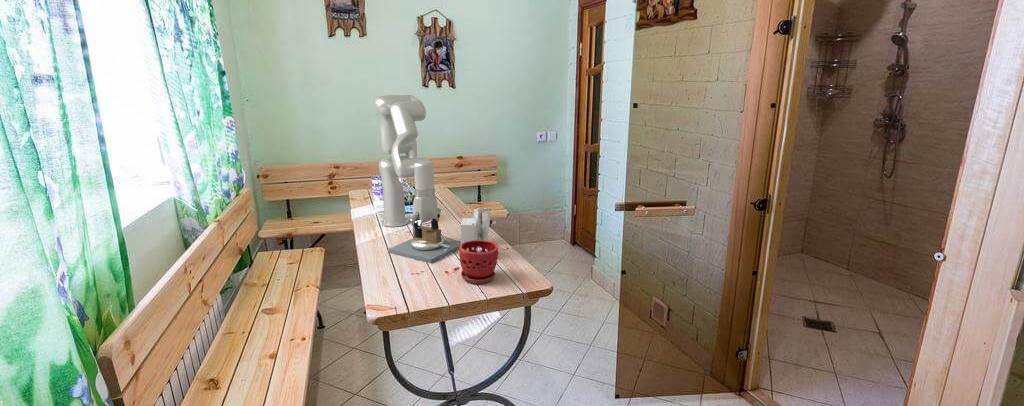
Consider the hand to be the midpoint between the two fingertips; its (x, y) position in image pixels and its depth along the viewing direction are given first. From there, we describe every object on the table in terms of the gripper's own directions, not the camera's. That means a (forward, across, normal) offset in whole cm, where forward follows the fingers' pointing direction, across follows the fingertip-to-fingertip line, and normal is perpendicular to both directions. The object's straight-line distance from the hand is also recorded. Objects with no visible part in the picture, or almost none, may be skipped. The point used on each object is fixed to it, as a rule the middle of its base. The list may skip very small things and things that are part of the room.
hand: (427, 234), depth 187 cm
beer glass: (+7, -15, +16) cm, 23 cm away
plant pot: (+7, +13, +34) cm, 37 cm away
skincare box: (+7, -1, +20) cm, 21 cm away
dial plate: (+6, 0, 0) cm, 6 cm away
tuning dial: (+4, 0, +2) cm, 5 cm away
